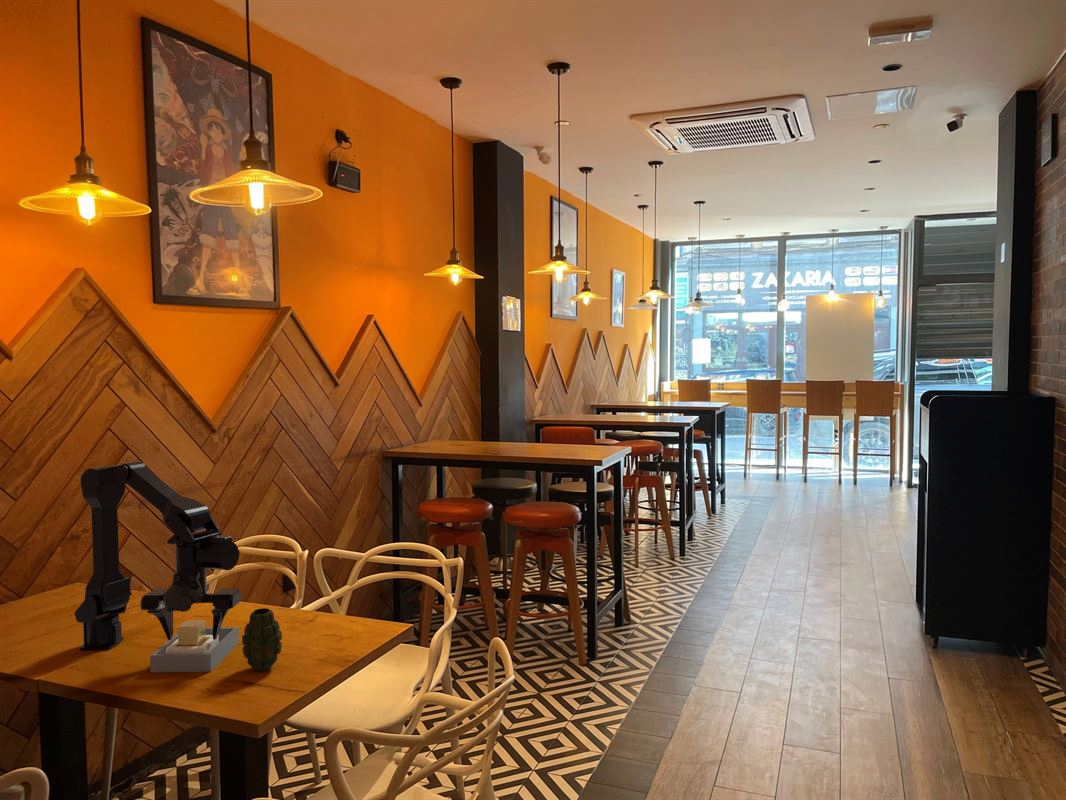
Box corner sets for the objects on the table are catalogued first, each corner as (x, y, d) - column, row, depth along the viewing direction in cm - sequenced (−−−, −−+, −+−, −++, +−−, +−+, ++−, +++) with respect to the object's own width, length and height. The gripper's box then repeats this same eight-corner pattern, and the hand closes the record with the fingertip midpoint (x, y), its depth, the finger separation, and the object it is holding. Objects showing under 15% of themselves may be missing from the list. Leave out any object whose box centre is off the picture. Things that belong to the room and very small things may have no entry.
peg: (178, 664, 155) (177, 626, 155) (187, 657, 159) (186, 620, 159) (198, 664, 155) (197, 626, 155) (206, 657, 159) (205, 619, 159)
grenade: (251, 661, 157) (250, 604, 156) (288, 661, 157) (287, 604, 156) (235, 676, 149) (234, 616, 149) (274, 676, 149) (273, 617, 148)
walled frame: (150, 672, 151) (150, 653, 151) (184, 643, 167) (184, 625, 167) (211, 671, 152) (210, 652, 151) (239, 642, 167) (238, 625, 167)
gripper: (126, 576, 148) (127, 654, 149) (222, 575, 149) (223, 653, 149) (152, 562, 159) (154, 634, 160) (241, 561, 160) (242, 633, 161)
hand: (192, 639), depth 157 cm, fingers open, 9 cm apart
